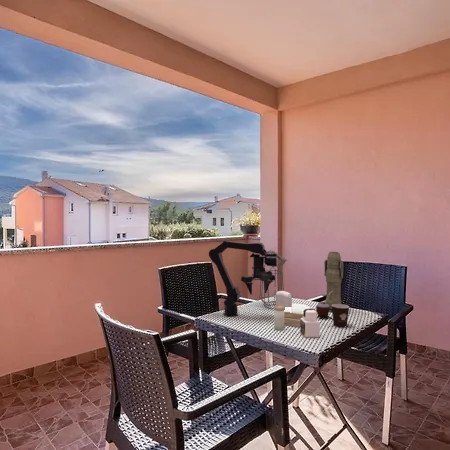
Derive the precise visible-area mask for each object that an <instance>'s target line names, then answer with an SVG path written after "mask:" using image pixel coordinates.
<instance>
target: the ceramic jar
mask: <svg viewBox="0 0 450 450" xmlns="http://www.w3.org/2000/svg"><path fill="white" fill-rule="evenodd" d="M273 309H274V310H273V312H274V313H273V315H274V316H273V329H274V330H275V331H284V330H285V326H284V310H285V307H284V306H281V305H273Z"/></svg>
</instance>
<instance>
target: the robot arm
mask: <svg viewBox="0 0 450 450" xmlns="http://www.w3.org/2000/svg"><path fill="white" fill-rule="evenodd" d="M227 249H234V250H242V251H248V252H251V254H250V255H249V258H253V260H252V261H253V262H252V264H253V265H252V267H251V269H252V270H253V273H252V274H251V276H250V275H242V276H241V278H240V281H241V282H242V283H244V284H245V285H246V287H247V289H248V292H249V295H253V281H260V280H261V282H262V281H263V290H264V291H263V293H264V292H265V294H267V293H268V291H269V286H270V285H271V283H273V282H274V281H275V274H272V273H273V271H268V270H266V268H265V267H264V265H265V264H266V265H265V266H267V267H271V266H277V265H278V264H279V262H278V261H279V259H278V257H277V255H278V253H277V254H271V253H270V254H268V253H267V252H268V251H267V250H266V249H265V245H264V244H263V242H251V243H249V242H248V243H247V242H240V241H230V240H223V241H222V243H220V244H219V245H218V246H216V247H214V248H213V249H210V250H209V251H208V257H209V258H210V260H211V262H212V263H214V265H215V266H216V268H217V271H218V272H219V276H220V277H221V280H222V282H223V284H224V286H225V290H226V291H225V292H226V296H227V298H226V299H225V300H224V301H223V304H224V309H223V315H224V316H226V317H227V318H229V317H230V318H231V317H238V316H239V315H238V306H237V305H238V304H237V301H239V300H240V298H241V291H240V290H239V286H235V285H234V283H233V281H232V278H231V276H230V275H229V273H228V270H227V268H226V266H225V263H224V259H223V258H224V256H223V253H224V252H225V251H226V250H227ZM264 259H265V260H264ZM264 262H265V263H264Z"/></svg>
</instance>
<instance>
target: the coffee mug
mask: <svg viewBox="0 0 450 450" xmlns="http://www.w3.org/2000/svg"><path fill="white" fill-rule="evenodd" d="M327 310H331V311H332V317H331V316H329V314H328V315H327V314H326V312H327ZM327 310H326V311H325V314H326V315H327V316H328V319H330V320H332V321H333V323H332V324H333V326H334V327H336V326H337V328H346V327H345V326H348V320H349V319H348V318H349V313H350V306H349V305H347V304H342V303H341V304H333V305H332V309H327Z"/></svg>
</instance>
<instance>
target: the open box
mask: <svg viewBox="0 0 450 450" xmlns="http://www.w3.org/2000/svg"><path fill="white" fill-rule="evenodd" d="M301 318H303V313H298V312H297V313H296V312H292V313H290V312H284V327H285V326H287V327H293V328H300V319H301Z"/></svg>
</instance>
